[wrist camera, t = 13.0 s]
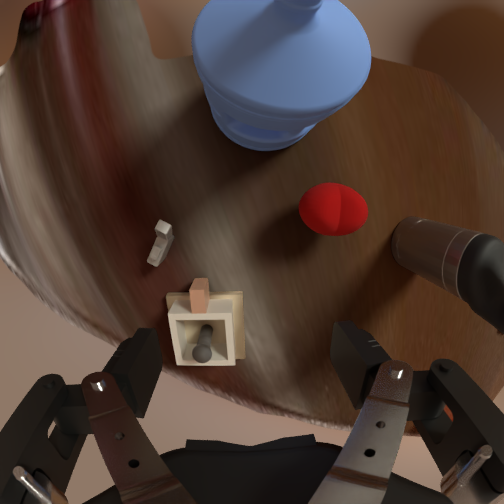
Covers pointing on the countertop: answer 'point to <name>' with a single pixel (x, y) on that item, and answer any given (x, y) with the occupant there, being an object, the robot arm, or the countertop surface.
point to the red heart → (333, 209)
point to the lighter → (161, 243)
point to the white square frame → (202, 310)
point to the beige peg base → (213, 326)
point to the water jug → (277, 66)
